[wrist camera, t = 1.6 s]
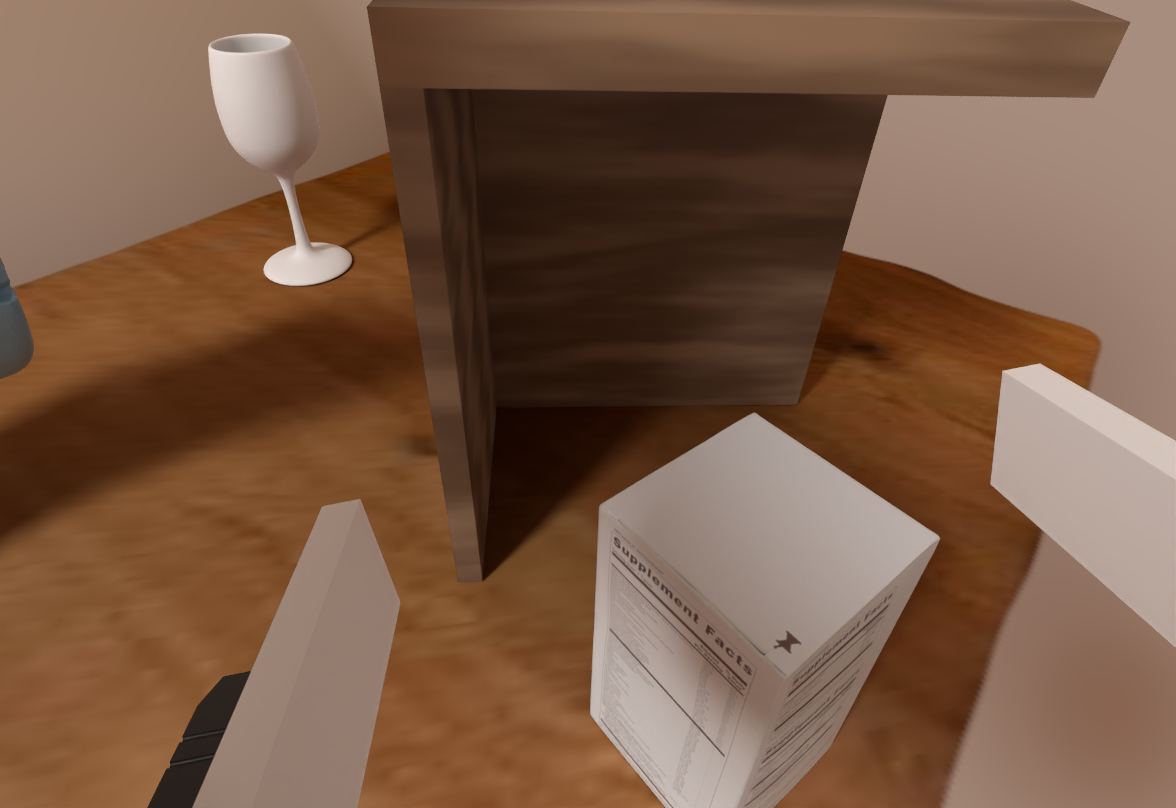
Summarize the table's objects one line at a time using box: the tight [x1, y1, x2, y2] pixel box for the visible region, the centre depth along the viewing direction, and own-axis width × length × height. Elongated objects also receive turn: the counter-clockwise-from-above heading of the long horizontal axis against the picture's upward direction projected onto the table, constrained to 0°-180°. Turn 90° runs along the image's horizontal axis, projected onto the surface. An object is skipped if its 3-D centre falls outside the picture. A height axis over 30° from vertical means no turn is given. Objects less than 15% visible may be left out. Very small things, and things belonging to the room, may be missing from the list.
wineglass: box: [208, 34, 352, 286], centre depth 65 cm, size 9×9×21 cm
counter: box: [367, 0, 1130, 582], centre depth 40 cm, size 18×26×32 cm
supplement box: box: [590, 413, 940, 808], centre depth 31 cm, size 10×9×17 cm
